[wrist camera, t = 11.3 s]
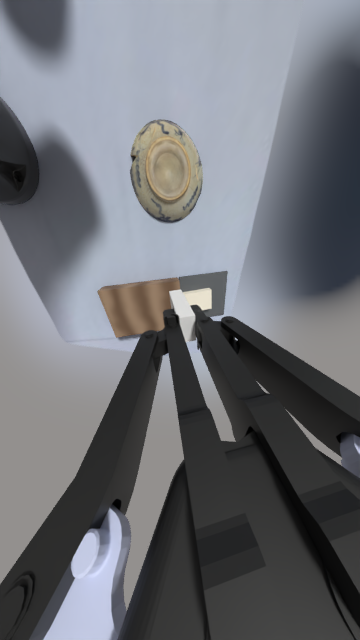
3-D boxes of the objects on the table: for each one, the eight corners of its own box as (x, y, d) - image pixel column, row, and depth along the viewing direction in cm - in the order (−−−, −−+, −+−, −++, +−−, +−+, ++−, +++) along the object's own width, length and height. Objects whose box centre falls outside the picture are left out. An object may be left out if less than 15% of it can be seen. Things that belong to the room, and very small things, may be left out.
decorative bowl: (202, 220, 33) (203, 119, 25) (207, 218, 30) (210, 102, 22) (139, 225, 31) (119, 120, 24) (137, 223, 28) (113, 102, 20)
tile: (181, 311, 43) (182, 313, 41) (179, 292, 40) (180, 295, 38) (209, 305, 44) (211, 308, 42) (209, 287, 40) (211, 289, 39)
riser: (119, 329, 43) (116, 337, 40) (102, 286, 36) (97, 291, 33) (181, 320, 45) (183, 326, 42) (177, 277, 38) (179, 280, 34)
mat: (182, 320, 45) (182, 320, 45) (178, 277, 38) (179, 277, 38) (223, 313, 46) (223, 314, 46) (226, 271, 39) (227, 271, 39)
